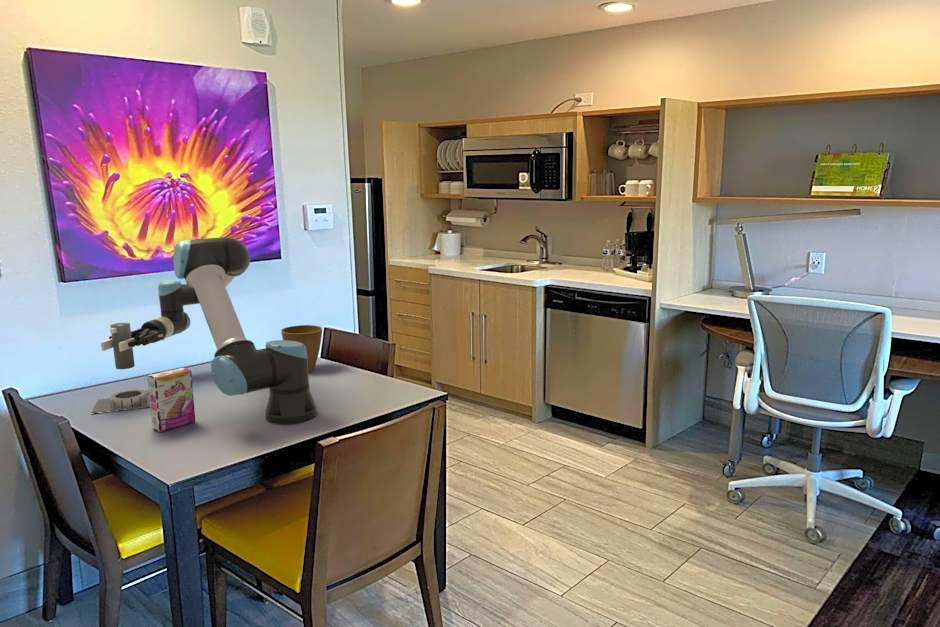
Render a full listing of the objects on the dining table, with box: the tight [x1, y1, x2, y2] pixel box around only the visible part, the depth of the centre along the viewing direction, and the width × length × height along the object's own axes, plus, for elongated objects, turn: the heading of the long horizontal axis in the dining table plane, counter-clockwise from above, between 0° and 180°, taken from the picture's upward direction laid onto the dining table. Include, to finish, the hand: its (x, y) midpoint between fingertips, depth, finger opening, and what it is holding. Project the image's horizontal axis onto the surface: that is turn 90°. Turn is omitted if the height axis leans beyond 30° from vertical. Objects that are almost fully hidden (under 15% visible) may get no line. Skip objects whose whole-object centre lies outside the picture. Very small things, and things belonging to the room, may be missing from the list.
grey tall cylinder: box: [109, 322, 136, 370], centre depth 217 cm, size 7×6×14 cm
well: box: [90, 389, 150, 414], centre depth 221 cm, size 14×20×3 cm
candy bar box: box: [147, 367, 196, 433], centre depth 199 cm, size 11×5×16 cm, turn 141°
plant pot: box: [280, 324, 323, 373], centre depth 255 cm, size 15×15×16 cm
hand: (111, 346), depth 212 cm, fingers closed on grey tall cylinder, 5 cm apart
